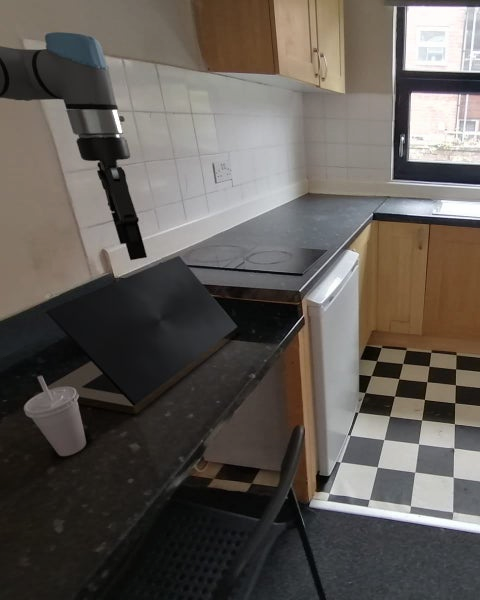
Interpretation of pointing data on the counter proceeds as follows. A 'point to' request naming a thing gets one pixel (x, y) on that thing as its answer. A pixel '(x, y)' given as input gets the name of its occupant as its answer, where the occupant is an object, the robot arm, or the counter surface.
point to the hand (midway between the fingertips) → (133, 250)
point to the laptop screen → (145, 326)
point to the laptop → (105, 395)
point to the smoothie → (58, 418)
